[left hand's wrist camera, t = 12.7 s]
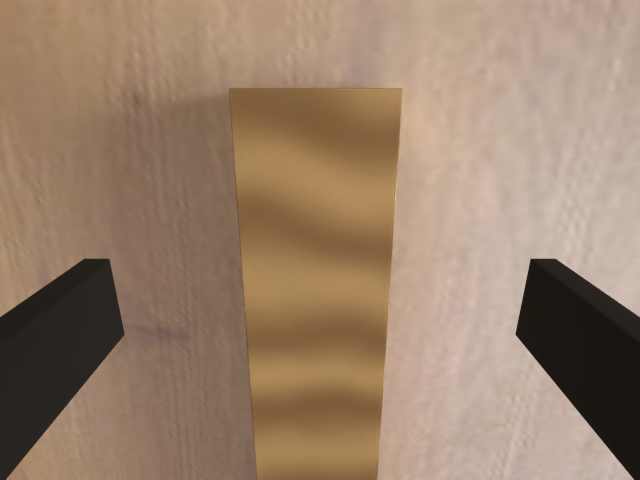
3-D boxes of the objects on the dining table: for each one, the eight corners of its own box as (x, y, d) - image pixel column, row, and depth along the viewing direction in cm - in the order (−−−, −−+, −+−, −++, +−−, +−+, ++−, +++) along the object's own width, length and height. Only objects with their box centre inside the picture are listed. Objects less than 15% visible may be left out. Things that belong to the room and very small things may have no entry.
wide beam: (249, 91, 27) (228, 87, 21) (382, 91, 28) (403, 88, 21) (278, 613, 47) (272, 695, 40) (356, 612, 47) (362, 694, 40)
